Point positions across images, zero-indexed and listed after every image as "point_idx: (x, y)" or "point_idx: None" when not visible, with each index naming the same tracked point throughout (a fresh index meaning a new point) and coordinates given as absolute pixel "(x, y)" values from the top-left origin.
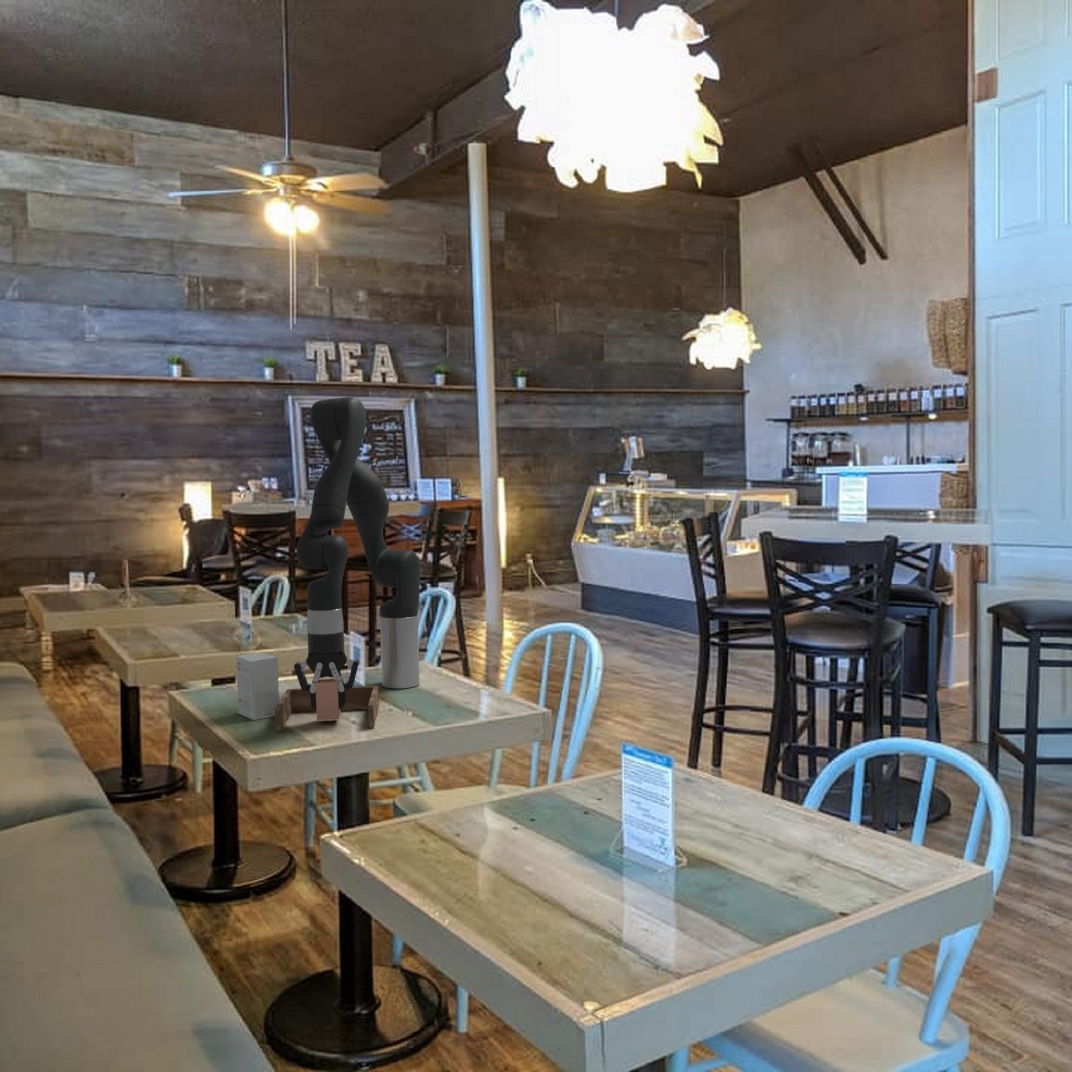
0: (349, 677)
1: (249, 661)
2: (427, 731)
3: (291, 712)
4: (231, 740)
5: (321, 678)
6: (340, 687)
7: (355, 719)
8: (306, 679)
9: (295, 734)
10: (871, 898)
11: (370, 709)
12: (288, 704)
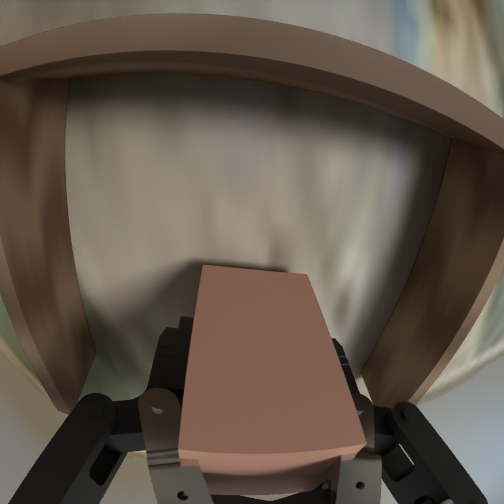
0: (387, 483)
1: None
2: (445, 385)
3: (65, 97)
4: (21, 368)
5: (213, 459)
6: None
7: (356, 275)
8: (95, 449)
9: (146, 382)
10: None
11: None
12: (30, 198)
